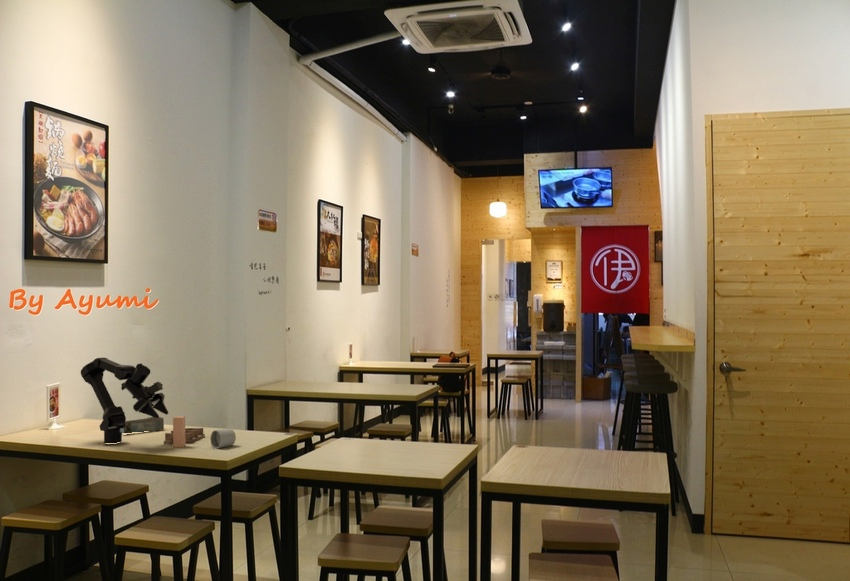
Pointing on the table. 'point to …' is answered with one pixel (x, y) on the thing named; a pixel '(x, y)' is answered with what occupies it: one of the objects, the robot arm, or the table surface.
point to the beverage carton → (143, 425)
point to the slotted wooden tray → (186, 435)
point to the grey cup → (222, 438)
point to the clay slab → (179, 431)
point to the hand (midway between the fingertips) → (163, 415)
